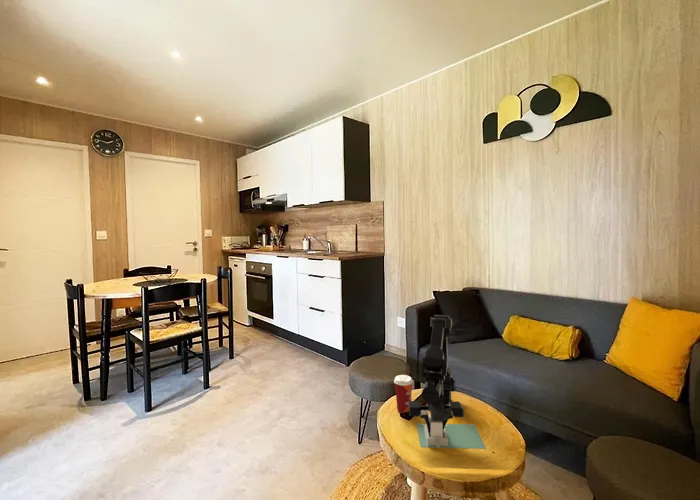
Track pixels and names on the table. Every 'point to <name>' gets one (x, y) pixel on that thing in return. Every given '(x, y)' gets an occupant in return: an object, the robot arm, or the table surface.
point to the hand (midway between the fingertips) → (435, 431)
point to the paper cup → (403, 392)
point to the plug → (436, 428)
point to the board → (451, 437)
